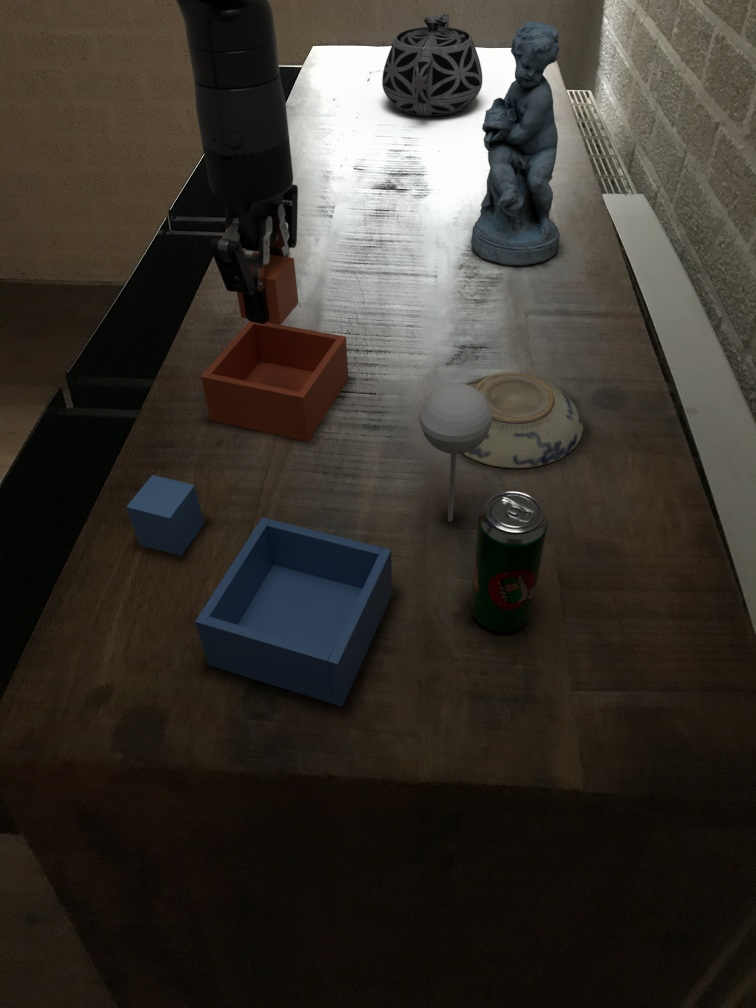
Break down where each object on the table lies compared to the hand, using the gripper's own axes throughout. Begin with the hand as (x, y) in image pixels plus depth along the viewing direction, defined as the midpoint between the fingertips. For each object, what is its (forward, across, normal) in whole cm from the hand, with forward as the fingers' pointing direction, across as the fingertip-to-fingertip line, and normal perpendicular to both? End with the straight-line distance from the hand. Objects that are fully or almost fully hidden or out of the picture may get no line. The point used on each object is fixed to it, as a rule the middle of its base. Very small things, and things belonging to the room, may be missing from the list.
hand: (269, 307), depth 80 cm
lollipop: (+12, +12, +23) cm, 28 cm away
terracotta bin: (+12, 0, 0) cm, 12 cm away
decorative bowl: (+12, -4, +25) cm, 28 cm away
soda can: (+12, +21, +30) cm, 38 cm away
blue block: (+11, +22, -1) cm, 25 cm away
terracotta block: (0, 0, 0) cm, 0 cm away
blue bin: (+11, +28, +15) cm, 34 cm away
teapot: (+12, -96, -12) cm, 98 cm away
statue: (+12, -44, +16) cm, 48 cm away
